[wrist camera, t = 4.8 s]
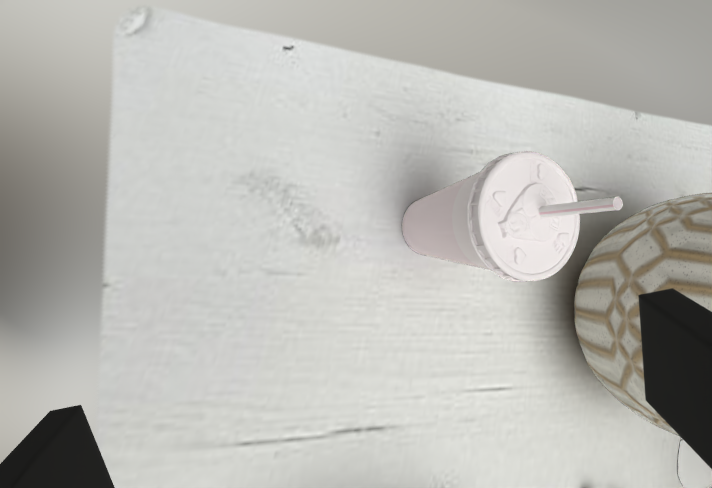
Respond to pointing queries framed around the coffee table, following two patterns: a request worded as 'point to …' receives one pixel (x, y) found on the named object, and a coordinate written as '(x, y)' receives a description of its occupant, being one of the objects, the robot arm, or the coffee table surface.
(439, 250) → the smoothie
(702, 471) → the heart sculpture
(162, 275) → the coffee table surface
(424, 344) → the coffee table surface
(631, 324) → the vase
